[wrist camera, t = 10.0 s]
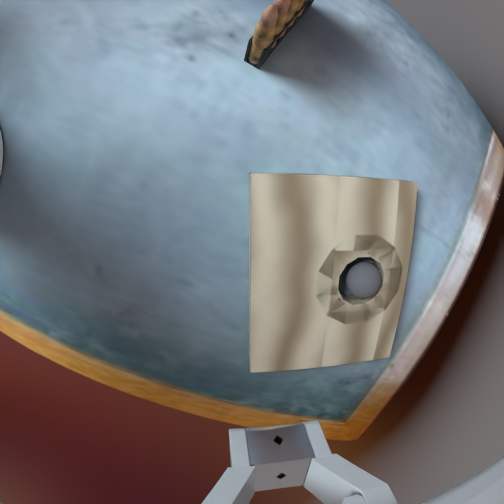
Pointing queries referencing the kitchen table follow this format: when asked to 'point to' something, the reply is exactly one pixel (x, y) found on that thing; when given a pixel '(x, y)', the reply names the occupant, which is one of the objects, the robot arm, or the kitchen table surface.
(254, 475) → the robot arm
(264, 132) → the kitchen table surface
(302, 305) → the board
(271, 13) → the ammunition clip
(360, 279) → the ball
